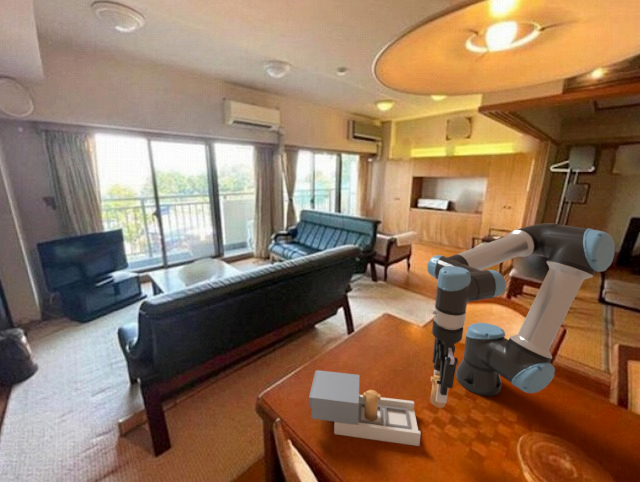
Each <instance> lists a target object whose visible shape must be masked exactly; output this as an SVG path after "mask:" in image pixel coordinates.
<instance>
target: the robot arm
mask: <svg viewBox="0 0 640 482" xmlns="http://www.w3.org/2000/svg"><path fill="white" fill-rule="evenodd" d="M615 248H616V247H615V242H614V239H613V237H612V236H611V234H610V233H608V232H605V231H602V230H598V229H593V228H590V227H589V228H587V227H581V226H572V225H568V224H567V225H565V224H560V223H554V222H553V223H552V222H545V223H537V224H533V225H527V226H524V227H521V228H517V229H515V230H511V232H509V233H508V234H507V235H506V236H504V237H501V238H498V239H495V240H493V241H490V242H486V243H485V244H482V245H479V246H476V247H473V248H470V249H467V250H465V251H461V252H460V253H456V254H453V255H450V256H445V255H440V254H437V255H433V256H432V257H431V258H430V259H429V260H428V263H427V266H426V267H427V268H426V269H427V273H428V274H429V275H430V276H432V277H433V278H434V279H436V280H437V281H436V290H435V291H436V294H435V304H434V310H432V315H433V321H432V322H433V323H432V327H431V328H432V329H431V332H432V333H431V334H432V335H433V337H434V344H433V353H432V354H433V356H432V363H433V369H434V370H433V376H434V375H435V374H440V381H437V384H438V386H437V394H436V402H440V403H445V404H447V400H448V394H449V389H453V386H454V379H455V377H456V380H457V382H458V383H459V384H460V385H461V386H462V387H463V388H465V389H467V391H469V392H471V393H473V394H476V395H479V396H485V397H492V396H498V394H500V392H501V390H502V379H501V377H502V378H503V379H505V380H506V381H508V382H509V383H510V384H512V386H513V387H516V388H518V389H519V390H521V391H523V392H524V393H526V394H527V393H528V394H535V393H539V392H540V391H542V390H543V389H545V388H546V387H547V386H549V384H550V383H551V382H552V380H553V379H554V378H555V372H556V369H555V367H554V365H553V364H552V363H551V360H552V359H553V356H552V354H551V352H550V348H551V346H552V344H553V342H554V341H555V338H556V336H557V334H558V332H559V330H560V329H561V327H562V324H563V322H564V320H565V318H566V316H567V315H568V312H569V311H570V309H571V306H572V304H573V302H574V300H575V299H576V297H577V294H578V293H579V291H580V288H581V286H582V285H583V282H584V281H585V280H588V279H591V278H593V277H594V275H595V274H596V272H598V273H599V272H605V271H607V269H608V268H609V267H610V266H611V265H612V263H613V260H614V257H615V251H616V250H615ZM529 256H539V257H544V258H547V260H546V264H547V265H548V266H547V267H548V269H549V270H548V271H547V273H546V275H545V278H544V279H543V281H542V284H541V285H540V287H539V290H538V292H537V294H536V295H535V298H534V300H533V302H532V304H531V306H530V308H529V310H528V313H527V315H526V317H525V319H524V320H523V322H522V325H521V326H520V329H519V331H518V333H517V334H515V335H511V336H509V338H506V333H505V330H504V329H503V328H501V327H500V326H498V325H495V324H492V323H487V322H475V323H472V324H470V325H468V327H467V330H466V334H465V343H464V350H463V357H462V360H461V361H460V362H459V359H458V357H455V352H456V344H458V343H459V342H461V341H462V338H463V333H464V326H465V321H466V313H467V312H466V311H467V305H468V303H469V302H471V303H472V302H475V301H481V300H488V299H493V298H496V297H500V296H501V295H503V294H504V292H505V291H506V288H507V287H506V286H507V282H506V279H505V277H504V276H503V275H502V273H501V272H499V271H497V270H494V269H488V268H491V267H493V266H497V265H499V264H501V263H505V262H506V261H510V260H512V259H514V258H518V257H520V258H521V257H522V258H523V257H529ZM458 363H459V365H458Z"/></svg>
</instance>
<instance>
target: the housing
mask: <svg viewBox="0 0 640 482" xmlns="http://www.w3.org/2000/svg"><path fill="white" fill-rule="evenodd" d="M414 408H415V401H414V400H408V399H407V400H406V399H399V398H398V399H397V398H390V397H382V396H380V400H378V411H377V419H376V420H375V421H369V420H367V419H366V418H365V416H364V413H365V398H363V394H359V409H358V425H357V424H349V423H342V422H334V421H333V422H334V424H333V425H334V426H333V427H334V428H333V429H334V430H333V433H334V435H338V436H339V435H340V436H345V437H346V436H347V437H353V438H359V439H366V440H373V441H381V442H388V443H396V444H402V445H407V446H416V447H420V444H421V443H420V441H421V436H422V434H421V430H419V427H418V423H417V418H416V413H415V409H414Z"/></svg>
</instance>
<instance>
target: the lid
mask: <svg viewBox="0 0 640 482" xmlns="http://www.w3.org/2000/svg"><path fill="white" fill-rule="evenodd" d="M359 395H360V374H353V373H346V372H345V373H344V372H337V371H327V370H317V369H316V370H315V371H314V375H313V380H312V384H311V388H310V392H309V396H308V408H311V419H314V420H321V421H327V422H328V421H329V422H342V423H349V424H357V425H358V409H359Z"/></svg>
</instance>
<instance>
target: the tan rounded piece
mask: <svg viewBox="0 0 640 482" xmlns="http://www.w3.org/2000/svg"><path fill="white" fill-rule="evenodd" d="M362 393H363V394H362V395H363V398H365V413H364V416H365V418H366V419H367V420H369V421H375V420H376V419H377V411H378V400H380V397H381V393H378V392H377V391H376V390H374V389H368V390H366V391H365V392H362Z"/></svg>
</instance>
